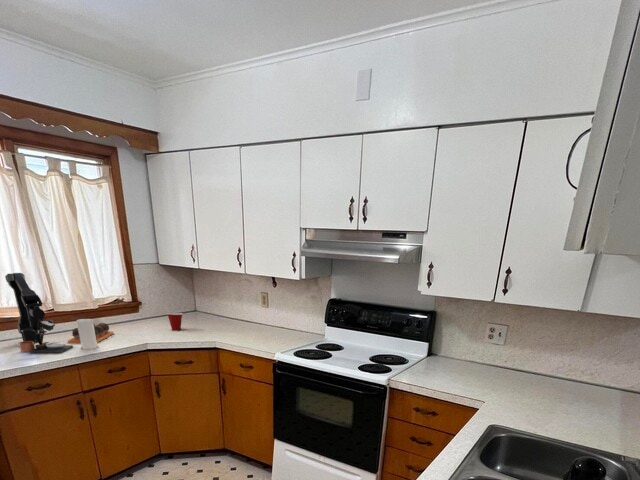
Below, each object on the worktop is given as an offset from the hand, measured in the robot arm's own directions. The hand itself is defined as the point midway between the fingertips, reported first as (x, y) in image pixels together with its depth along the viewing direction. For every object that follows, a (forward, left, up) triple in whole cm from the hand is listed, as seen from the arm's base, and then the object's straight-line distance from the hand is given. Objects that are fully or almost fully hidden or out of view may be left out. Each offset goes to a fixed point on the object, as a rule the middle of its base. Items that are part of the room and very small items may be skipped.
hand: (41, 344), depth 240 cm
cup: (+22, +8, -4) cm, 24 cm away
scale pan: (+6, +1, 0) cm, 6 cm away
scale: (+5, 0, -3) cm, 6 cm away
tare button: (0, 0, -2) cm, 2 cm away
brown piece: (+13, +32, -4) cm, 35 cm away
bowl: (-7, -2, -3) cm, 8 cm away
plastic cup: (+58, +63, -4) cm, 86 cm away
